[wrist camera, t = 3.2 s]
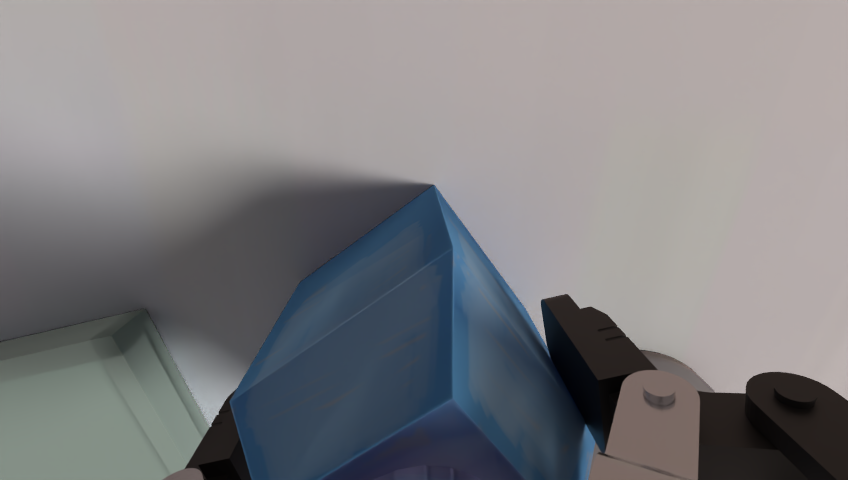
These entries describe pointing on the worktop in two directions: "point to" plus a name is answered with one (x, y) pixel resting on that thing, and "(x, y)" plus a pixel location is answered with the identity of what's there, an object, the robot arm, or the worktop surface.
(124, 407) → the tray
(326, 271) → the perfume bottle
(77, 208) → the worktop surface
